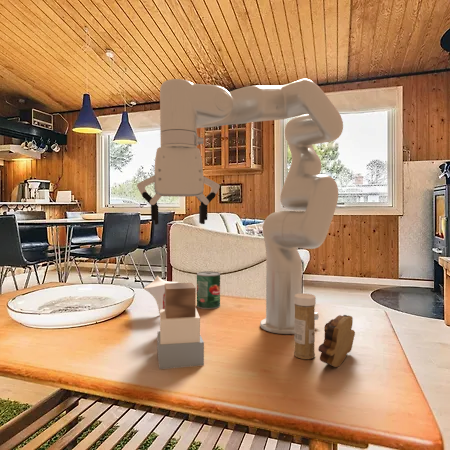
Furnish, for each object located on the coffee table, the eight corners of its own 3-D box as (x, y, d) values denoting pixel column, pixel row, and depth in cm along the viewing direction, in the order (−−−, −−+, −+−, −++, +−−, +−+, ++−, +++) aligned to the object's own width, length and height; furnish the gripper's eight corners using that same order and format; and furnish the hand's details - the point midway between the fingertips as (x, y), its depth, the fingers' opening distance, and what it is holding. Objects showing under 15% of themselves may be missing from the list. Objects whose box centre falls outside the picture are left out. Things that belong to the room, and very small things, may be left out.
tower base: (197, 350, 86) (197, 328, 86) (203, 366, 77) (203, 342, 77) (157, 353, 84) (157, 331, 84) (159, 370, 75) (159, 345, 75)
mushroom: (136, 315, 113) (135, 276, 113) (163, 308, 121) (163, 271, 121) (158, 322, 106) (157, 280, 106) (185, 314, 114) (185, 275, 114)
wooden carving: (335, 348, 87) (335, 305, 86) (355, 352, 84) (356, 308, 84) (313, 375, 72) (314, 324, 72) (337, 380, 70) (338, 327, 70)
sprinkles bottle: (318, 359, 80) (319, 296, 80) (298, 360, 79) (299, 297, 79) (309, 351, 85) (309, 292, 84) (290, 352, 84) (290, 293, 83)
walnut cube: (192, 309, 83) (192, 282, 83) (195, 316, 78) (195, 288, 77) (164, 310, 82) (164, 283, 82) (166, 318, 76) (166, 289, 76)
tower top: (196, 329, 85) (196, 308, 85) (200, 342, 77) (200, 317, 77) (160, 331, 83) (160, 309, 83) (160, 344, 76) (160, 319, 75)
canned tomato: (219, 309, 121) (220, 275, 121) (195, 309, 121) (195, 275, 121) (220, 303, 129) (220, 271, 129) (197, 303, 129) (197, 271, 129)
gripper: (215, 146, 84) (216, 222, 85) (136, 144, 80) (137, 223, 81) (222, 140, 77) (223, 224, 77) (136, 137, 73) (137, 225, 74)
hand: (179, 224), depth 79 cm, fingers open, 9 cm apart
